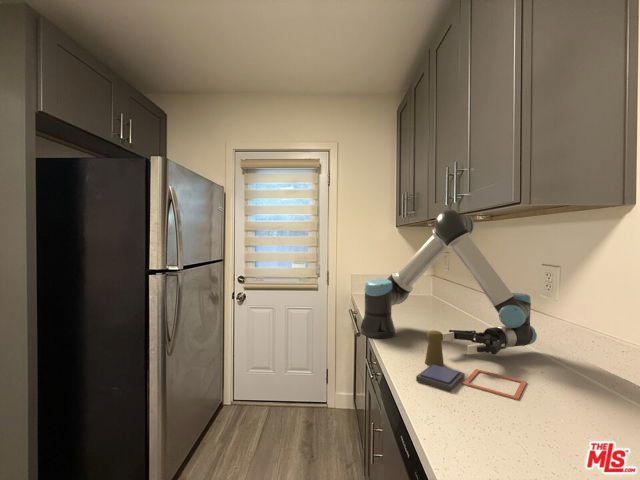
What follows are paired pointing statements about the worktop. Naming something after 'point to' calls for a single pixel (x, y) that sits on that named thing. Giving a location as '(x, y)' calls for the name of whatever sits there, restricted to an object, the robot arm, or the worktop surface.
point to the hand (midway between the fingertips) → (452, 343)
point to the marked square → (516, 396)
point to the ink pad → (440, 377)
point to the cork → (434, 349)
